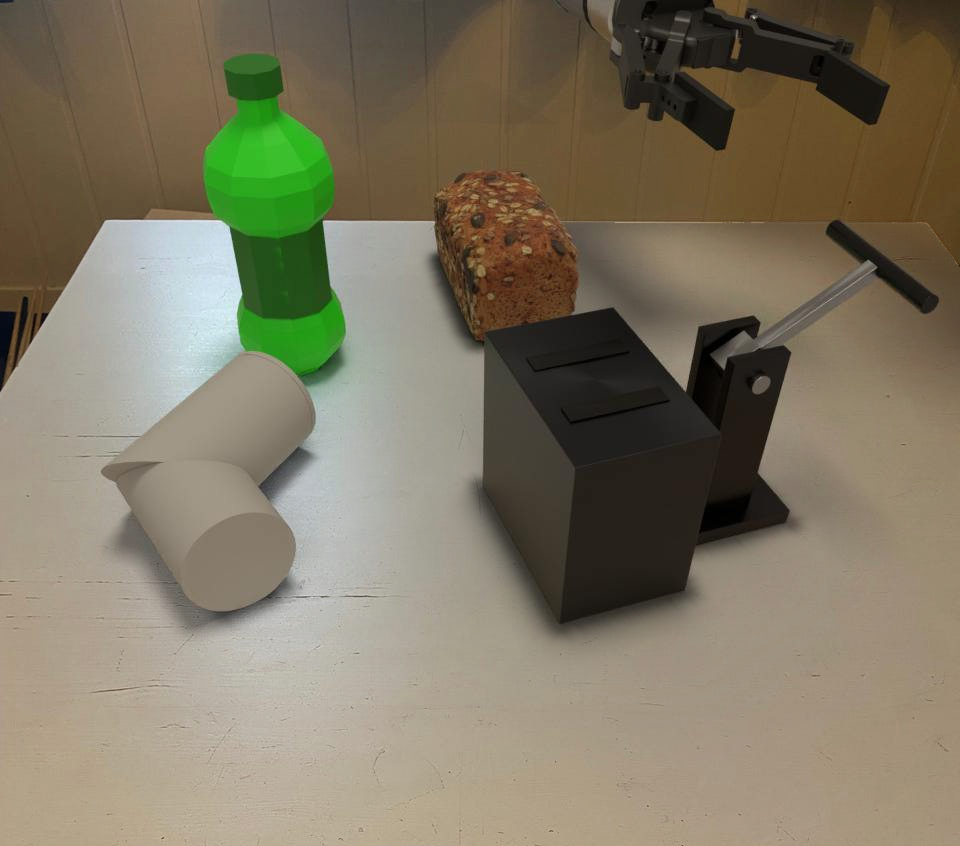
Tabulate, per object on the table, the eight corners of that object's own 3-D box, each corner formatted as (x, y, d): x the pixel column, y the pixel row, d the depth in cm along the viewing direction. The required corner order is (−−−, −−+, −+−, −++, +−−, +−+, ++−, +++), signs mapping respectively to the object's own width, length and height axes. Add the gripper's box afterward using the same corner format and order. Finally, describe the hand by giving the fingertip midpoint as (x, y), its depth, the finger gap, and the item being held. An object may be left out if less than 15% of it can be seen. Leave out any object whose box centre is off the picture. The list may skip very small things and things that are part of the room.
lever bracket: (735, 461, 81) (777, 297, 70) (786, 521, 76) (840, 356, 65) (626, 487, 79) (652, 322, 68) (672, 551, 74) (707, 385, 63)
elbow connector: (68, 471, 78) (161, 628, 67) (56, 349, 71) (158, 501, 60) (273, 439, 87) (385, 572, 76) (280, 328, 80) (404, 456, 69)
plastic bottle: (254, 327, 94) (200, 37, 76) (362, 333, 94) (335, 42, 75) (227, 387, 88) (160, 86, 69) (343, 394, 87) (307, 92, 68)
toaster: (595, 460, 81) (613, 304, 71) (685, 590, 71) (722, 432, 61) (482, 486, 79) (484, 329, 68) (559, 624, 69) (575, 466, 59)
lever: (844, 235, 70) (838, 209, 68) (941, 311, 63) (937, 285, 62) (689, 344, 73) (679, 322, 71) (766, 429, 66) (758, 407, 64)
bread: (576, 338, 94) (585, 237, 86) (467, 350, 92) (466, 248, 84) (528, 245, 106) (532, 149, 98) (431, 255, 104) (428, 158, 96)
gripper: (761, 43, 88) (918, 147, 76) (513, 76, 80) (645, 196, 69) (785, -55, 82) (960, 40, 70) (521, -30, 75) (667, 81, 63)
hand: (805, 117), depth 70 cm, fingers open, 13 cm apart
